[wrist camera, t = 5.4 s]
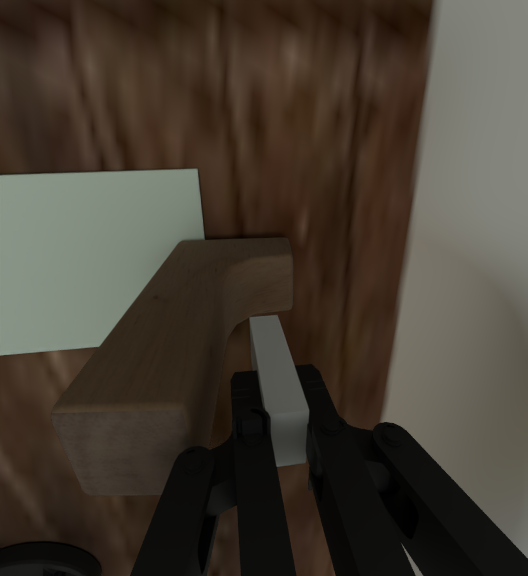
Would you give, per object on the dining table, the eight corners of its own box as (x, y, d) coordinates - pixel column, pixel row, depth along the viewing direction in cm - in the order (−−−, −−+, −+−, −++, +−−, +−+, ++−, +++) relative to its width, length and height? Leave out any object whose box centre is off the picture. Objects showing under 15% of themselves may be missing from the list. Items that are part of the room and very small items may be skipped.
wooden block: (289, 235, 26) (331, 406, 10) (289, 285, 28) (324, 496, 12) (178, 239, 26) (40, 413, 10) (186, 289, 28) (81, 501, 12)
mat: (-22, 353, 29) (-26, 357, 28) (-109, 178, 22) (-117, 179, 22) (214, 332, 31) (214, 336, 31) (197, 168, 25) (197, 169, 24)
